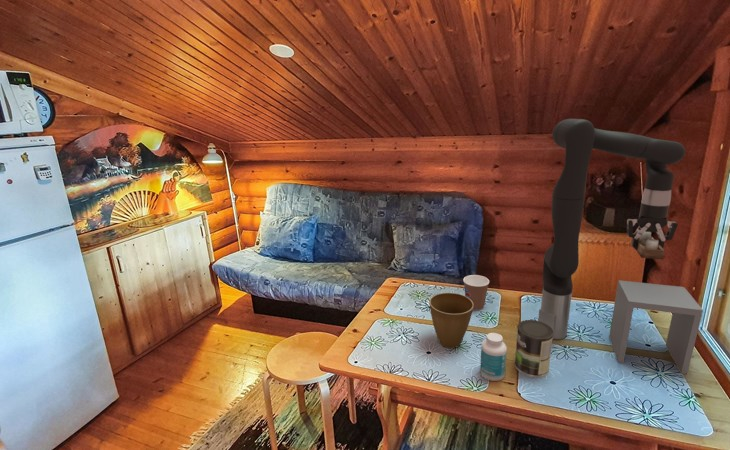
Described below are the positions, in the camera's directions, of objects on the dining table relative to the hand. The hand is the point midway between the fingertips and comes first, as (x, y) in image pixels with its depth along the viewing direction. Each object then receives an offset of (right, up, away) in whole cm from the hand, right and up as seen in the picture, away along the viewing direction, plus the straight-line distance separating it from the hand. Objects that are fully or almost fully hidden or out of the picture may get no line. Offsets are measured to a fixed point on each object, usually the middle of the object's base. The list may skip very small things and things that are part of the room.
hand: (646, 249), depth 132 cm
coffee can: (-43, -37, -9) cm, 58 cm away
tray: (0, -1, 0) cm, 1 cm away
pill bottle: (-57, -39, -11) cm, 70 cm away
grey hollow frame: (-5, -34, -6) cm, 35 cm away
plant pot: (-66, -34, +6) cm, 75 cm away
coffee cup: (-51, -26, +29) cm, 64 cm away
